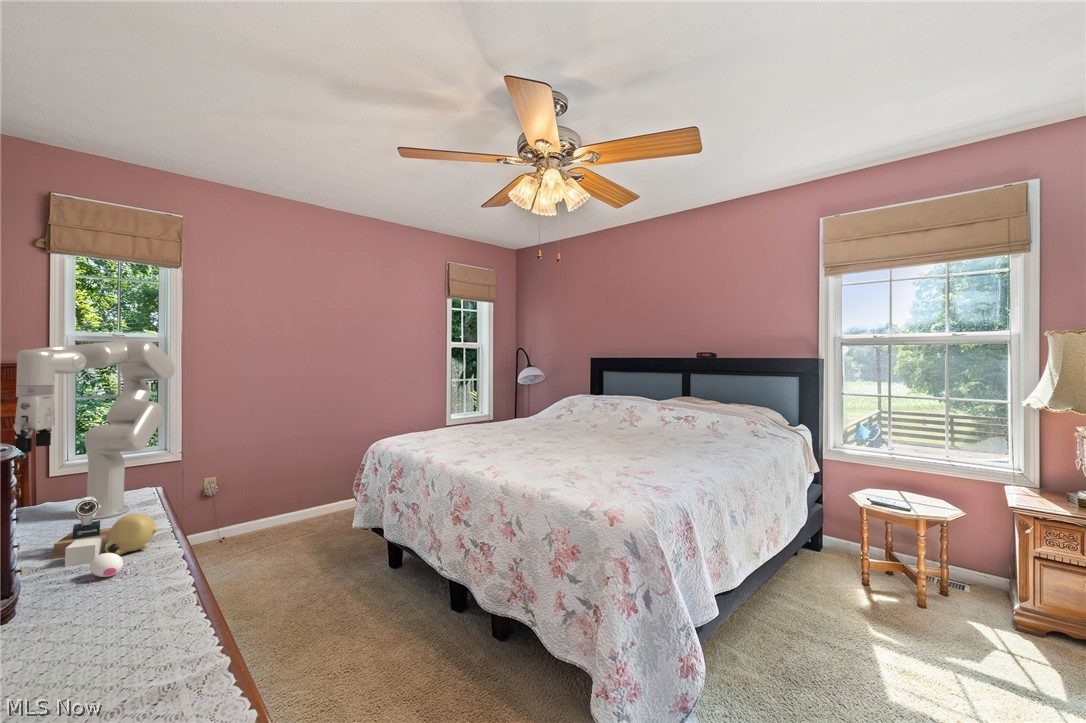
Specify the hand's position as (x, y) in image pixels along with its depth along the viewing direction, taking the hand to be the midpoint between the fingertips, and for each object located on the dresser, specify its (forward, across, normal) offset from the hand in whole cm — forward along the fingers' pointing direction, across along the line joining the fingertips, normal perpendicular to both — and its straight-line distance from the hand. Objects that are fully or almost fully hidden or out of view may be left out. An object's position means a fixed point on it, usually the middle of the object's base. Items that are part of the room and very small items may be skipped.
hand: (33, 448), depth 135 cm
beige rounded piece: (+29, -16, -28) cm, 43 cm away
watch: (+24, -10, -16) cm, 31 cm away
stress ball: (+29, -32, -28) cm, 52 cm away
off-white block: (+28, -19, -19) cm, 39 cm away
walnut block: (+28, -10, -16) cm, 34 cm away
